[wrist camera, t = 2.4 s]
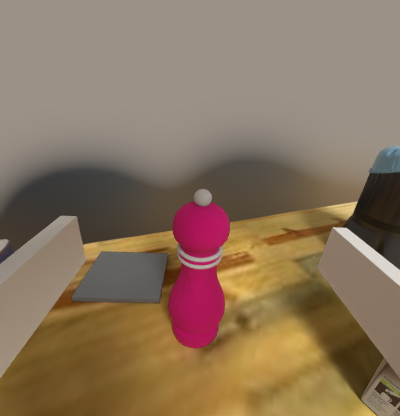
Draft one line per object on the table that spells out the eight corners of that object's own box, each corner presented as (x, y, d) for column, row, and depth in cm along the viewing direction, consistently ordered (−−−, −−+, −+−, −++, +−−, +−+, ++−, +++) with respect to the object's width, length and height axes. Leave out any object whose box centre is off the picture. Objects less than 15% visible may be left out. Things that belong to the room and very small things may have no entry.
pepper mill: (158, 321, 29) (151, 185, 21) (198, 295, 34) (205, 174, 25) (191, 366, 24) (199, 213, 16) (232, 329, 29) (256, 193, 20)
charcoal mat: (168, 256, 42) (168, 253, 42) (159, 303, 32) (159, 299, 32) (102, 254, 41) (101, 251, 41) (72, 301, 32) (71, 297, 31)
